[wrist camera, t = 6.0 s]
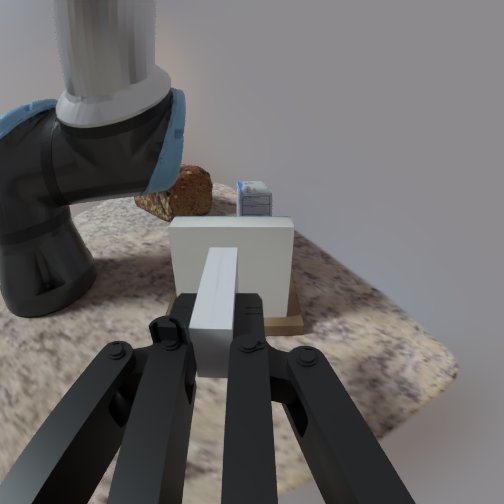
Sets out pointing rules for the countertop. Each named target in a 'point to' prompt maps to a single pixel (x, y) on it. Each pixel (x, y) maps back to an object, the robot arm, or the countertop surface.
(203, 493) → the countertop surface
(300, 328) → the light brown wooden board
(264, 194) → the medicine box
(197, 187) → the bread
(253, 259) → the tile
